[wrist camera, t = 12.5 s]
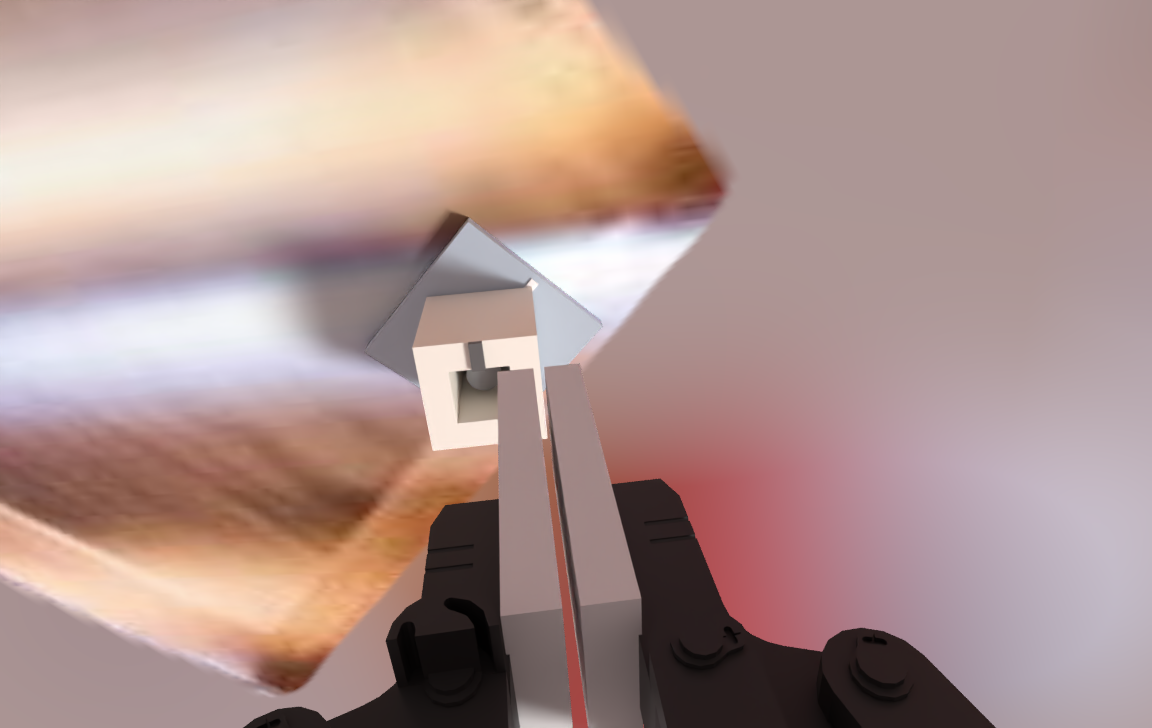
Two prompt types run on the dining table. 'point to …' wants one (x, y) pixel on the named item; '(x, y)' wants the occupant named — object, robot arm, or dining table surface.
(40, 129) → the dining table surface
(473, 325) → the cube with square hole
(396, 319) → the plate
